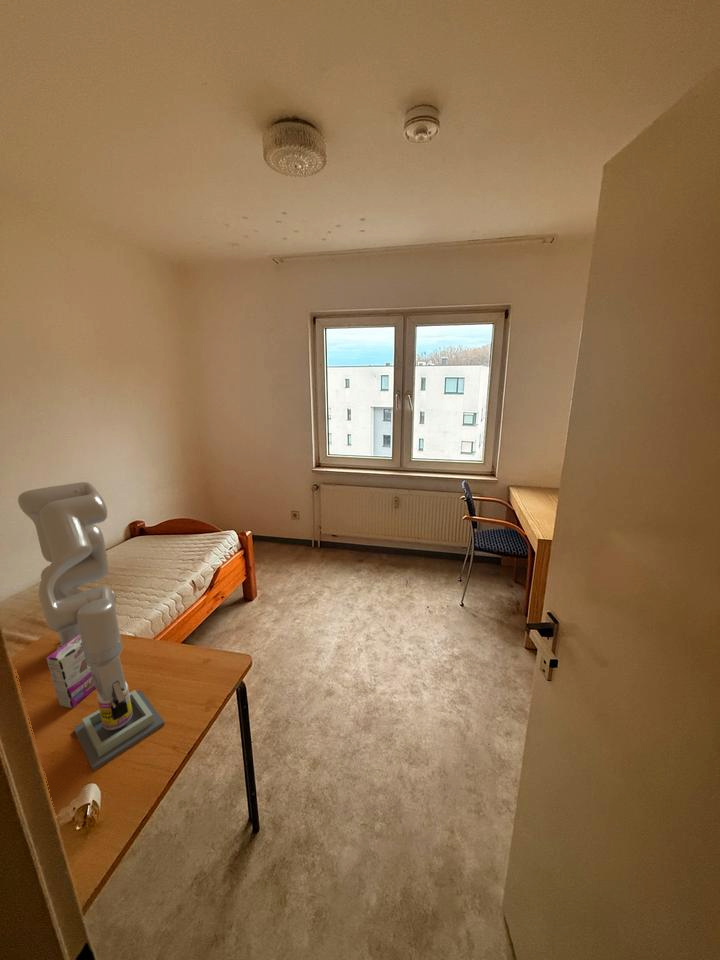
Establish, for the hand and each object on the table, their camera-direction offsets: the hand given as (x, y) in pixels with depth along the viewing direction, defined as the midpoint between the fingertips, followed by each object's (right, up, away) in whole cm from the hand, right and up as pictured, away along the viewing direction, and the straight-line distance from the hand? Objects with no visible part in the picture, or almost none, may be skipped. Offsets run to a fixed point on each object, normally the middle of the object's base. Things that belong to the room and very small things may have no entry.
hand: (115, 707), depth 95 cm
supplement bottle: (0, -4, +1) cm, 4 cm away
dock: (0, -6, +2) cm, 6 cm away
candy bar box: (-18, -4, +13) cm, 22 cm away
